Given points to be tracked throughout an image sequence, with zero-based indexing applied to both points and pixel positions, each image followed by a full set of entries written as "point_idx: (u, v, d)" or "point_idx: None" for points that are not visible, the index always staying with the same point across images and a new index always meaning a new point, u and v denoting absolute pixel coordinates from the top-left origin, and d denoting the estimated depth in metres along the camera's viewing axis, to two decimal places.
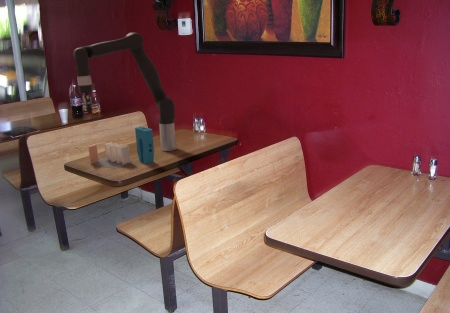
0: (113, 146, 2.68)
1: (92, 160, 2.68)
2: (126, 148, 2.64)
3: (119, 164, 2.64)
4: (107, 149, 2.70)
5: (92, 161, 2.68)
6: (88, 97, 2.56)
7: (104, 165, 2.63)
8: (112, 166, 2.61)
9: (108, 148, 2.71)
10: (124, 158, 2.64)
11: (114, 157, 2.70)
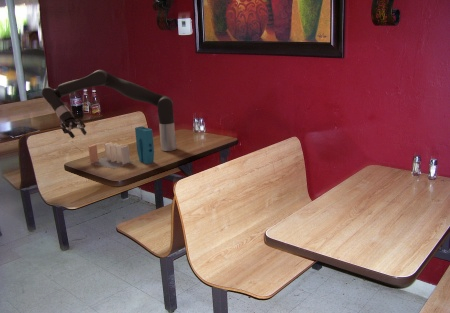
0: (113, 146, 2.68)
1: (92, 160, 2.68)
2: (126, 148, 2.64)
3: (119, 164, 2.64)
4: (107, 149, 2.70)
5: (92, 161, 2.68)
6: (61, 125, 2.67)
7: (104, 165, 2.63)
8: (112, 166, 2.61)
9: (108, 148, 2.71)
10: (124, 158, 2.64)
11: (114, 157, 2.70)
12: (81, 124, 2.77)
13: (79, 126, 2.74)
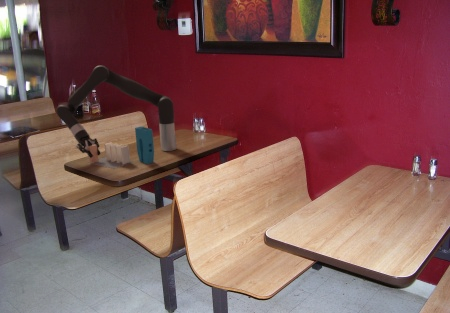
0: (113, 146, 2.68)
1: (92, 160, 2.68)
2: (126, 148, 2.64)
3: (119, 164, 2.64)
4: (107, 149, 2.70)
5: (92, 161, 2.68)
6: (78, 146, 2.64)
7: (104, 165, 2.63)
8: (112, 166, 2.61)
9: (108, 148, 2.71)
10: (124, 158, 2.64)
11: (114, 157, 2.70)
12: (95, 144, 2.73)
13: None
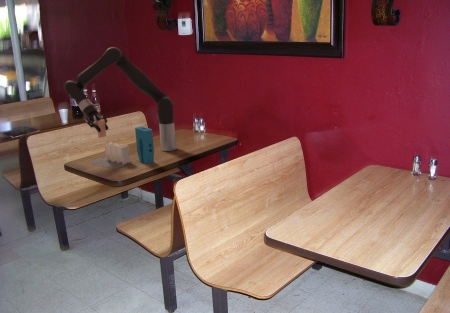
0: (113, 146, 2.68)
1: (100, 135, 2.70)
2: (126, 148, 2.64)
3: (119, 164, 2.64)
4: (107, 149, 2.70)
5: (100, 136, 2.70)
6: (86, 120, 2.66)
7: (104, 165, 2.63)
8: (112, 166, 2.61)
9: (108, 148, 2.71)
10: (124, 158, 2.64)
11: (114, 157, 2.70)
12: (103, 119, 2.75)
13: None
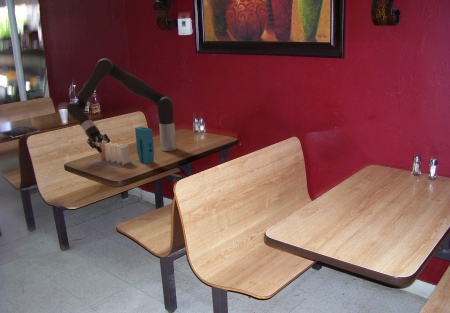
0: (113, 146, 2.68)
1: (102, 156, 2.74)
2: (126, 148, 2.64)
3: (119, 164, 2.64)
4: (107, 149, 2.70)
5: (102, 157, 2.74)
6: (88, 141, 2.70)
7: (104, 165, 2.63)
8: (112, 166, 2.61)
9: (108, 148, 2.71)
10: (124, 158, 2.64)
11: (114, 157, 2.70)
12: (106, 139, 2.79)
13: (104, 141, 2.76)
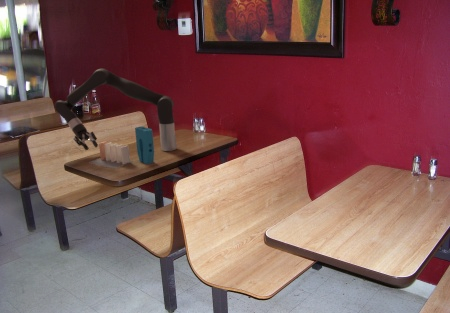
0: (113, 146, 2.68)
1: (102, 156, 2.74)
2: (126, 148, 2.64)
3: (119, 164, 2.64)
4: (107, 149, 2.70)
5: (102, 157, 2.74)
6: (75, 138, 2.76)
7: (104, 165, 2.63)
8: (112, 166, 2.61)
9: (108, 148, 2.71)
10: (124, 158, 2.64)
11: (114, 157, 2.70)
12: (93, 136, 2.86)
13: (91, 138, 2.83)
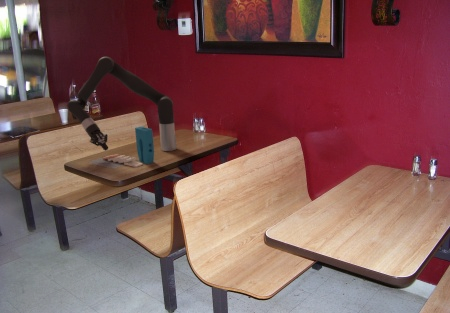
0: (125, 159, 2.65)
1: None
2: None
3: (119, 164, 2.64)
4: None
5: (104, 159, 2.74)
6: (92, 141, 2.70)
7: (104, 165, 2.63)
8: (112, 166, 2.61)
9: None
10: None
11: None
12: (104, 139, 2.77)
13: (102, 140, 2.74)
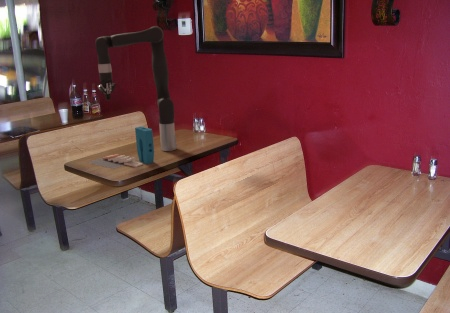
0: (125, 159, 2.65)
1: None
2: None
3: (119, 164, 2.64)
4: None
5: (104, 159, 2.74)
6: (100, 88, 2.73)
7: (104, 165, 2.63)
8: (112, 166, 2.61)
9: None
10: None
11: None
12: (111, 88, 2.81)
13: (108, 89, 2.78)
